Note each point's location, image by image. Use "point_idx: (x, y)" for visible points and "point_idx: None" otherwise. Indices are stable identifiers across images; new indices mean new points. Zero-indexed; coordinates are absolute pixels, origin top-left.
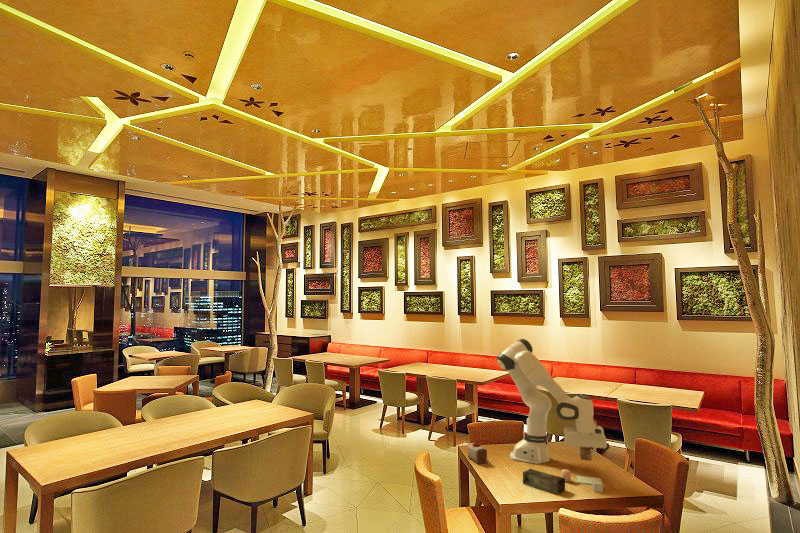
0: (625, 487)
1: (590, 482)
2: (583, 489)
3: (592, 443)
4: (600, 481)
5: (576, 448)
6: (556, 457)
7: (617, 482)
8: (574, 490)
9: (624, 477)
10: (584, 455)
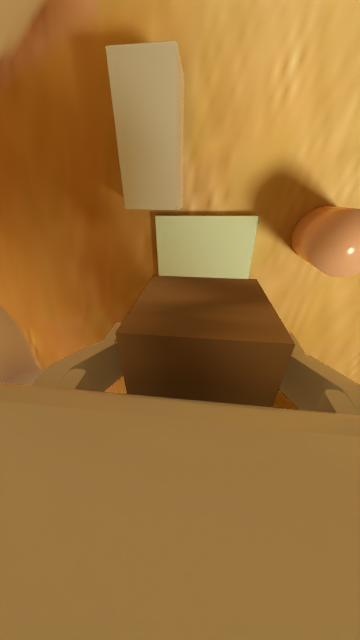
0: (32, 232)
1: (188, 231)
2: (249, 97)
3: (11, 473)
4: (124, 136)
5: (348, 386)
6: None
7: (72, 285)
8: (329, 33)
9: (57, 341)
10: (224, 298)
